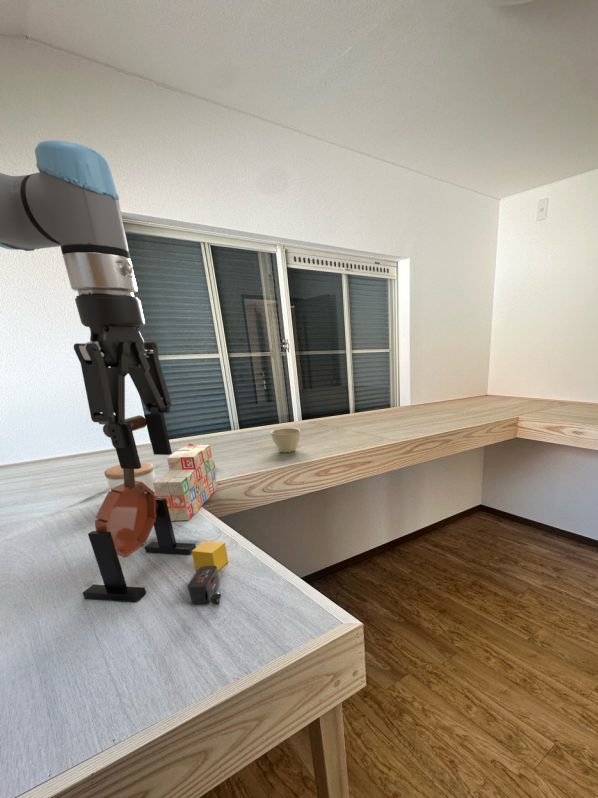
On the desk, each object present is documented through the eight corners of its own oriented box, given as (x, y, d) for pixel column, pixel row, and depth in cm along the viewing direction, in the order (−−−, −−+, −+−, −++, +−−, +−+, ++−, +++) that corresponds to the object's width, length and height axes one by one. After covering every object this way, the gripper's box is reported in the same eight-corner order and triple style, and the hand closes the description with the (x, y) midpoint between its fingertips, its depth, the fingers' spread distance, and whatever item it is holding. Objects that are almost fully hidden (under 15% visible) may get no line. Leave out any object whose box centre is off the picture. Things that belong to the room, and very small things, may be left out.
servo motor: (188, 608, 63) (184, 590, 62) (204, 582, 69) (200, 566, 68) (219, 607, 63) (215, 589, 62) (232, 581, 70) (229, 565, 68)
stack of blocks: (189, 521, 93) (178, 468, 88) (160, 522, 92) (147, 469, 88) (218, 488, 112) (210, 443, 108) (194, 489, 112) (185, 444, 107)
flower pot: (277, 447, 153) (275, 428, 150) (304, 447, 153) (302, 428, 150) (269, 454, 144) (267, 434, 141) (298, 454, 143) (296, 434, 141)
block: (216, 573, 72) (195, 570, 73) (228, 561, 76) (208, 559, 77) (212, 553, 71) (191, 550, 71) (224, 542, 74) (204, 540, 75)
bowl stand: (84, 598, 66) (62, 536, 61) (153, 546, 82) (139, 494, 77) (136, 602, 65) (118, 539, 60) (196, 548, 81) (185, 496, 76)
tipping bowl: (82, 426, 56) (99, 430, 56) (143, 410, 68) (158, 413, 68) (97, 568, 66) (112, 571, 66) (149, 532, 78) (162, 535, 77)
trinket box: (108, 496, 107) (98, 461, 104) (153, 487, 114) (145, 453, 110) (117, 508, 100) (106, 471, 96) (164, 497, 106) (156, 462, 103)
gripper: (73, 286, 46) (126, 482, 55) (176, 299, 64) (203, 445, 73) (12, 288, 47) (75, 480, 56) (131, 301, 65) (163, 444, 74)
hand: (147, 460), depth 64 cm, fingers closed on tipping bowl, 7 cm apart
